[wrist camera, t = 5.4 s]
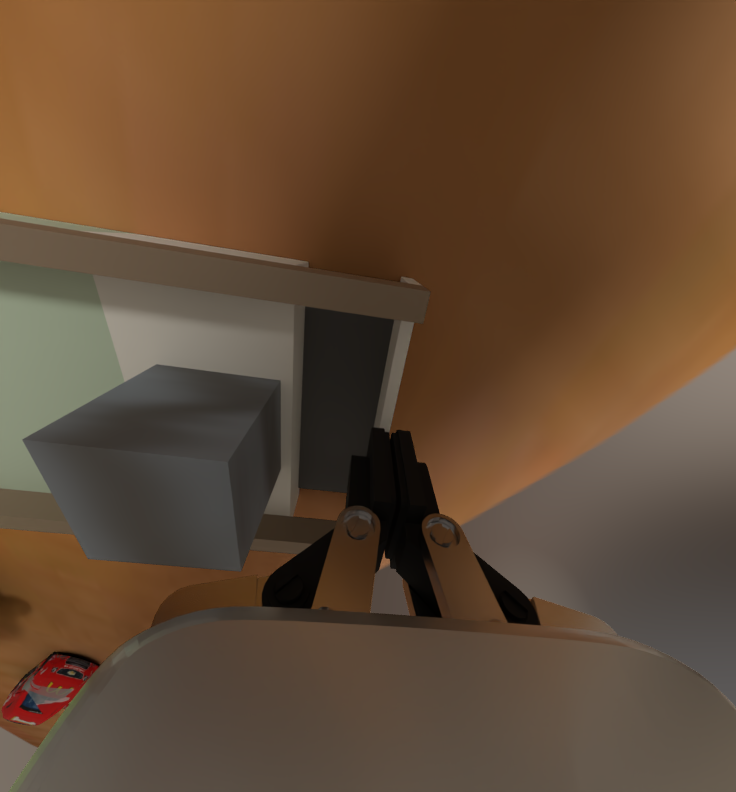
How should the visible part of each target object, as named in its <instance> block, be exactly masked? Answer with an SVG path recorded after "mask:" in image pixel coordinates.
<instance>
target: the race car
mask: <svg viewBox="0 0 736 792" xmlns="http://www.w3.org/2000/svg"><path fill="white" fill-rule="evenodd" d="M99 666H100V665H97V664H93V663H91V662H88V661H85V660H83V659H79V658H75V657H71V656H67V655H61V654H60V653H57V652H53V654H51V655H50V656H49V657H48V658H47V659H45V660H44V661H43V662H41V663H40V664H39V665H38V666H36V667H35V668H34V669H32V670H31V671H30V672H28V674H26V675H25V676H24V677H23V678H22V679H21V680H20V682H19V683H18V684H17V685H16V686H15V688H14V689H13V690H12V691H11V693H10V694H9V696H8V698H7V700H6V701H5V703H4V705H3V707H2V712H3V718H5V719H6V720H8V721H11V722H14V723H18V724H23V725H39V724H41V723H43V722H44V721H46V720H47V719H49V718H50V717H52V716H53V715H55V714H56V713H57V712H59V711H60V710H61V709H62V708H63V707H64V706H65V707H64V709H66V708H67V707H68V705H69V704H68V703H69V702H70V701H71V700H73V698H74V697H75V696H76V694H77V693H78V692H79V691H80V689H81V688H82V687H83V686H84V684H85V683H86V682H87V680H88V679H89V678H90V677H91V676H92V674H93V673H94V672H95V671H96V670H97V669H98V668H99Z"/></svg>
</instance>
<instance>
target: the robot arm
mask: <svg viewBox="0 0 736 792" xmlns="http://www.w3.org/2000/svg"><path fill="white" fill-rule="evenodd" d="M384 549H385V558H387V559H390V567H391V568H392V569H396V572H397V573H398V574H399V575H400V576H401V577H402V578H403V588H404V593H405V597H406V601H407V605H408V610H409V614H410V616H407V615H393V614H379V613H370V609H371V601H372V593H373V585H374V577H375V573H376V572H377V571H378V570H379V567H380V564H381V560H382V557H383V553H384ZM9 792H736V707H735V706H734V704H733V703H731V701H730V700H729V699H728V698H727V697H726V696H725V695H724V694H723V693H722V692H721V691H720V690H719V689H717V688H716V687H715V686H714V685H713V684H712V683H711V682H710V681H708V680H707V679H706V678H704V677H703V676H702V675H701V674H699V673H698V672H696V671H695V670H693V669H691V668H690V667H688V666H686V665H685V664H683V663H681V662H680V661H678V660H676V659H674V658H673V657H671V656H669V655H667V654H664V653H662V652H660V651H658V650H656V649H654V648H652V647H650V646H647V645H644V644H642V643H639V642H636V641H633V640H631V639H627V638H624V637H620V636H618V635H617V634H616V632H615V631H614V630H613V629H612V628H611V627H610V626H609V625H607V624H606V623H605V622H603V621H602V620H600V619H598V618H596V617H594V616H591V615H588V614H585V613H582V612H578V611H576V610H573V609H570V608H567V607H564V606H560V605H557V604H554V603H551V602H548V601H545V600H542V599H539V598H536V597H533V598H532V599H528V598H527V597H526V596H525V595H524V594H523V593H522V592H521V591H520V590H519V589H518V588H517V587H516V586H514V585H513V584H512V583H511V582H509V581H508V580H507V579H506V578H504V577H503V576H502V575H501V574H500V573H498V572H497V571H496V570H495V569H493V568H492V567H491V566H490V565H488V564H487V563H486V562H485V561H483V560H482V559H481V558H480V557H479V556H477V555H476V554H475V553H474V552H473V551H472V549H471V547H470V545H469V542H468V541H467V538H466V537H465V535H464V532H463V530H462V529H461V527H460V526H459V525H458V524H457V523H456V522H455V521H454V520H453V519H451V518H450V517H448V516H446V515H443V514H440V513H439V509H438V505H437V502H436V498H435V494H434V490H433V487H432V483H431V479H430V476H429V472H428V468H427V465H426V464H425V463H419V462H417V459H416V455H415V451H414V446H413V442H412V437H411V433H410V431H402V430H397V431H396V433H392V434H391V439H390V437H389V432H385V429H384V428H377V427H372V428H371V433H370V439H369V444H368V450H367V455H366V457H365V456H356V455H351V461H350V468H349V476H348V485H347V496H346V508H345V509H344V510H343V511H342V512H341V513H340V515H339V517H338V519H337V522H336V525H335V528H334V529H332V530H331V531H329V532H328V533H327V534H325V535H324V536H323V537H321V538H320V539H318V540H317V541H316V542H314V543H313V544H312V545H310V546H309V547H307V548H306V549H305V550H303V551H302V552H301V553H299V554H298V555H296V556H295V557H294V558H292V559H291V560H290V561H288V562H287V563H285V564H284V565H283V566H281V567H280V568H279V569H277V570H276V571H275V572H274V573H273V574H272V575H271V576H266V577H260V578H257V575H253V576H246V577H240V578H234V579H228V580H222V581H215V582H209V583H203V584H197V585H191V586H187V587H184V588H181V589H179V590H177V591H176V592H174V593H173V594H171V595H170V596H169V597H168V598H167V599H166V600H165V601H164V602H163V603H162V604H161V605H160V607H159V609H158V611H157V613H156V615H155V617H154V620H153V623H152V626H151V628H149V629H147V630H145V631H143V632H141V633H139V634H138V635H136V636H134V637H133V638H131V639H129V640H128V641H126V642H125V643H124V644H122V645H121V646H120V647H119V648H118V649H116V650H115V651H114V652H113V653H112V654H111V655H110V656H109V657H108V658H107V659H106V660H105V661H104V662H103V663H102V664H101V665H100V666H99V668H98V669H97V670H96V671H95V672H94V673H93V674H92V676H91V677H90V678H89V679H88V680H87V682H86V683H85V684H84V686H83V687H82V688H81V689H80V691H79V692H78V693H77V694H76V696H75V697H74V698H73V700H72V701H71V702H70V704H69V705H68V707H67V708H66V709H65V711H64V712H63V713H62V715H61V716H60V718H59V719H58V720H57V722H56V723H55V725H54V726H53V727H52V729H51V730H50V732H49V733H48V735H47V736H46V738H45V739H44V740H43V742H42V743H41V745H40V746H39V748H38V749H37V751H36V752H35V753H34V755H33V756H32V758H31V759H30V761H29V762H28V764H27V765H26V766H25V768H24V769H23V771H22V772H21V774H20V776H19V777H18V779H17V780H16V781H15V783H14V784H13V786H12V788H11V789H10V791H9Z"/></svg>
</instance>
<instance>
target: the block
mask: <svg viewBox="0 0 736 792" xmlns="http://www.w3.org/2000/svg"><path fill="white" fill-rule="evenodd" d="M22 441H23V442H24V444H25V446H26V448H27V450H28V451H29V453H30V455H31V457H32V459H33V460H34V462H35V464H36V466H37V468H38V469H39V471H40V473H41V475H42V477H43V479H44V480H45V482H46V484H47V486H48V488H49V489H50V491H51V493H52V495H53V497H54V498H55V500H56V502H57V504H58V506H59V507H60V509H61V511H62V513H63V515H64V516H65V518H66V520H67V522H68V524H69V525H70V527H71V529H72V531H73V533H74V534H75V536H76V538H77V540H78V542H79V543H80V545H81V547H82V549H83V551H84V552H85V554H86V556H87V558H88V559H95V560H107V561H119V562H132V563H144V564H156V565H168V566H180V567H192V568H205V569H217V570H229V571H241V570H242V568H243V565H244V563H245V560H246V558H247V555H248V553H249V550H250V547H251V545H252V542H253V540H254V537H255V535H256V532H257V529H258V527H259V524H260V522H261V519H262V517H263V514H264V511H265V509H266V506H267V504H268V501H269V499H270V496H271V493H272V491H273V488H274V486H275V483H276V481H277V478H278V475H279V473H280V470H281V380H274V379H266V378H258V377H251V376H243V375H235V374H228V373H220V372H212V371H205V370H197V369H189V368H182V367H174V366H166V365H159V364H156V365H154V366H152V367H151V368H149V369H147V370H145V371H144V372H142V373H140V374H138V375H136V376H135V377H133V378H131V379H129V380H127V381H126V382H124V383H122V384H120V385H119V386H117V387H115V388H113V389H111V390H110V391H108V392H106V393H104V394H102V395H101V396H99V397H97V398H95V399H94V400H92V401H90V402H88V403H86V404H85V405H83V406H81V407H79V408H77V409H76V410H74V411H72V412H70V413H69V414H67V415H65V416H63V417H61V418H60V419H58V420H56V421H54V422H52V423H51V424H49V425H47V426H45V427H44V428H42V429H40V430H38V431H36V432H35V433H33V434H31V435H29V436H27V437H26V438H24V439H22Z"/></svg>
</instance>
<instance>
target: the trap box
mask: <svg viewBox="0 0 736 792" xmlns="http://www.w3.org/2000/svg"><path fill="white" fill-rule="evenodd" d="M308 266H309V262H308V261H301V260H295V259H289V258H283V257H276V256H270V255H264V254H258V253H252V252H245V251H239V250H233V249H227V248H221V247H214V246H208V245H202V244H196V243H190V242H183V241H177V240H171V239H165V238H158V237H152V236H146V235H140V234H134V233H127V232H121V231H115V230H109V229H103V228H96V227H90V226H84V225H78V224H72V223H65V222H59V221H53V220H47V219H41V218H34V217H28V216H22V215H16V214H9V213H3V212H0V528H5V529H16V530H27V531H39V532H50V533H62V534H73V535H75V534H74V533H73V531H72V529H71V527H70V525H69V524H68V522H67V520H66V518H65V516H64V515H63V513H62V511H61V509H60V507H59V506H58V504H57V502H56V500H55V498H54V497H53V495H52V493H51V491H50V489H49V488H48V486H47V484H46V482H45V480H44V479H43V477H42V475H41V473H40V471H39V469H38V468H37V466H36V464H35V462H34V460H33V459H32V457H31V455H30V453H29V451H28V450H27V448H26V446H25V444H24V442H23V441H22V439H24V438H26V437H27V436H29V435H31V434H33V433H35V432H36V431H38V430H40V429H42V428H44V427H45V426H47V425H49V424H51V423H52V422H54V421H56V420H58V419H60V418H61V417H63V416H65V415H67V414H69V413H70V412H72V411H74V410H76V409H77V408H79V407H81V406H83V405H85V404H86V403H88V402H90V401H92V400H94V399H95V398H97V397H99V396H101V395H102V394H104V393H106V392H108V391H110V390H111V389H113V388H115V387H117V386H119V385H120V384H122V383H124V382H126V381H127V380H129V379H131V378H133V377H135V376H136V375H138V374H140V373H142V372H144V371H145V370H147V369H149V368H151V367H152V366H154V365H156V364H159V365H166V366H174V367H182V368H189V369H197V370H205V371H212V372H220V373H228V374H235V375H243V376H251V377H258V378H266V379H274V380H281V470H280V473H279V475H278V478H277V481H276V483H275V486H274V488H273V491H272V493H271V496H270V499H269V501H268V504H267V506H266V509H265V511H264V514H263V517H262V519H261V522H260V524H259V527H258V529H257V532H256V535H255V537H254V540H253V542H252V545H251V547H250V550H255V551H267V552H278V553H289V554H299V553H301V552H302V551H303V550H305V549H306V548H307V547H309V546H310V545H312V544H313V543H314V542H316V541H317V540H318V539H320V538H321V537H323V536H324V535H325V534H327V533H328V532H329V531H331V530H332V529H334V528H335V525H336V522H337V521H332V520H322V519H312V518H301V517H293V514H294V511H295V507H296V504H297V500H298V496H299V488H304V489H313V490H323V491H333V492H342V493H347V485H348V476H349V468H350V461H351V455H356V456H365V457H366V455H367V450H368V444H369V439H370V433H371V428H372V427H377V428H384V429H385V432H390V427H391V423H392V418H393V414H394V410H395V405H396V401H397V396H398V392H399V387H400V383H401V378H402V374H403V370H404V365H405V361H406V356H407V352H408V347H409V343H410V338H411V334H412V330H413V325H414V323H420V324H423V322H424V318H425V314H426V310H427V305H428V301H429V297H430V293H431V292H430V291H429V290H428V289H426V288H425V287H424V286H422V285H421V284H419V283H418V282H417V281H415V280H414V279H413V278H407V277H401V280H400V282H396V281H390V280H384V279H378V278H371V277H365V276H359V275H353V274H346V273H340V272H334V271H328V270H321V269H315V268H309V267H308Z"/></svg>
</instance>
